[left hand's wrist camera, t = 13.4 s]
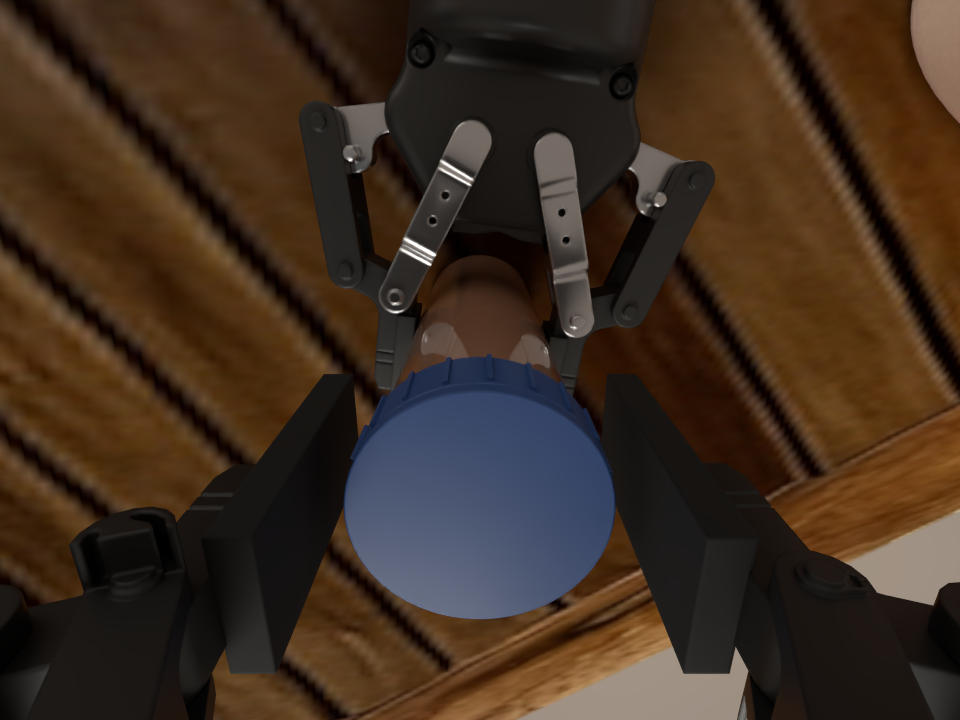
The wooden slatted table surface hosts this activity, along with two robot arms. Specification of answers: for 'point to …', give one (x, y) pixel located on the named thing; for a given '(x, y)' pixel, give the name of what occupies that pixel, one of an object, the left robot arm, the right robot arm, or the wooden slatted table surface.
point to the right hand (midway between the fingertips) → (471, 404)
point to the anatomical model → (939, 48)
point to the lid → (479, 490)
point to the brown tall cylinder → (479, 319)
